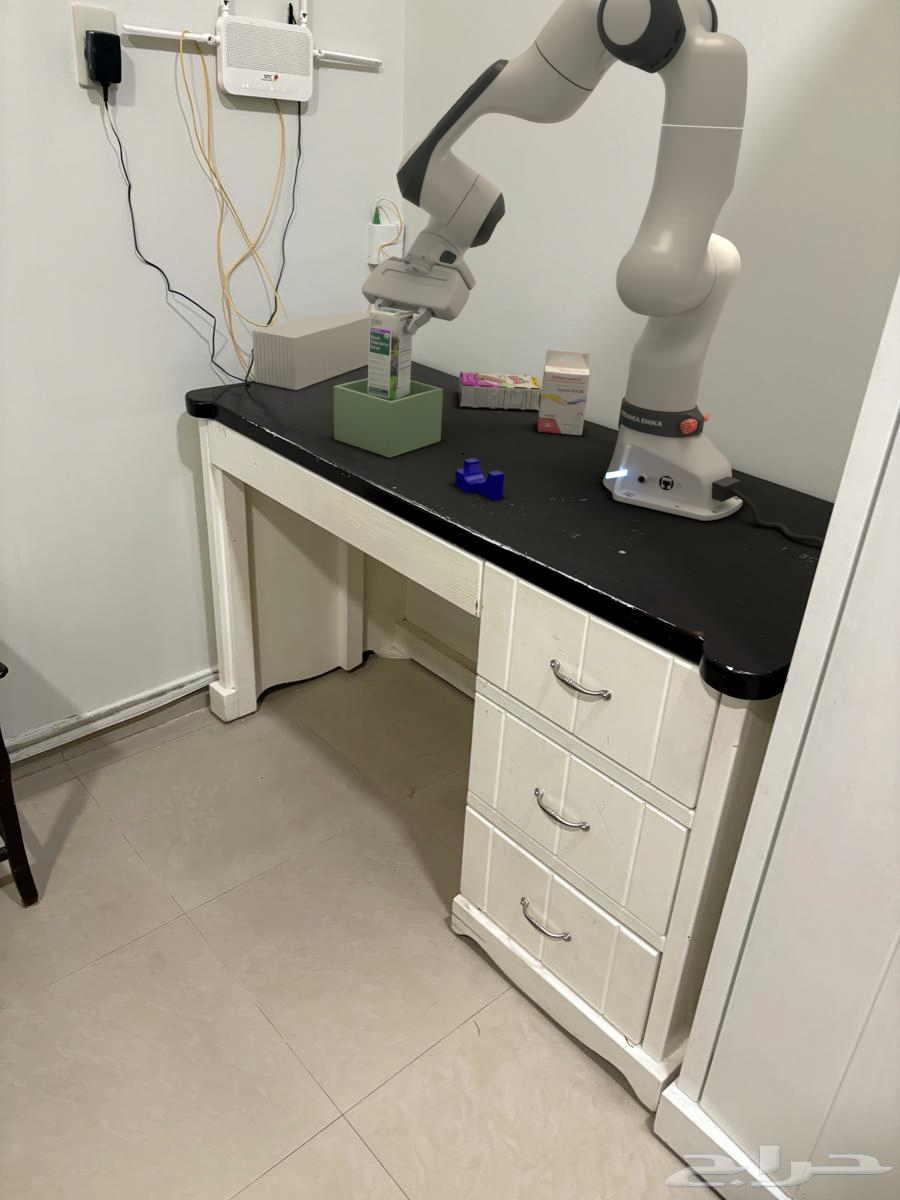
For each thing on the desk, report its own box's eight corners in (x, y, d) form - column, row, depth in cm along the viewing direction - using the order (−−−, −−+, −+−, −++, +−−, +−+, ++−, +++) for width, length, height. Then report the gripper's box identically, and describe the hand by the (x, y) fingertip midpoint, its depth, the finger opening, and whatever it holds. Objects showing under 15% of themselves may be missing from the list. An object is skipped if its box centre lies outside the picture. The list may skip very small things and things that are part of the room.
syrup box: (366, 395, 163) (367, 310, 156) (383, 388, 167) (385, 305, 160) (394, 401, 160) (396, 315, 153) (411, 394, 165) (414, 310, 158)
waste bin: (440, 441, 169) (443, 388, 164) (389, 457, 159) (390, 402, 155) (385, 423, 176) (386, 373, 172) (333, 439, 167) (333, 385, 162)
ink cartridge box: (537, 432, 176) (544, 354, 169) (537, 424, 180) (545, 348, 174) (582, 436, 176) (592, 357, 169) (581, 428, 180) (591, 351, 173)
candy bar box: (459, 369, 195) (537, 374, 196) (458, 393, 198) (534, 397, 198) (460, 383, 185) (542, 388, 186) (459, 408, 188) (540, 412, 188)
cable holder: (454, 484, 149) (456, 461, 147) (472, 481, 151) (474, 458, 149) (484, 501, 144) (485, 477, 142) (502, 497, 145) (504, 473, 144)
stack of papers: (294, 338, 188) (252, 330, 192) (296, 390, 193) (254, 381, 197) (378, 314, 214) (338, 308, 218) (377, 361, 219) (339, 354, 223)
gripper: (378, 243, 164) (339, 306, 162) (469, 259, 153) (428, 327, 151) (395, 267, 169) (357, 329, 167) (484, 284, 158) (444, 351, 156)
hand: (391, 328), depth 159 cm, fingers closed on syrup box, 6 cm apart
